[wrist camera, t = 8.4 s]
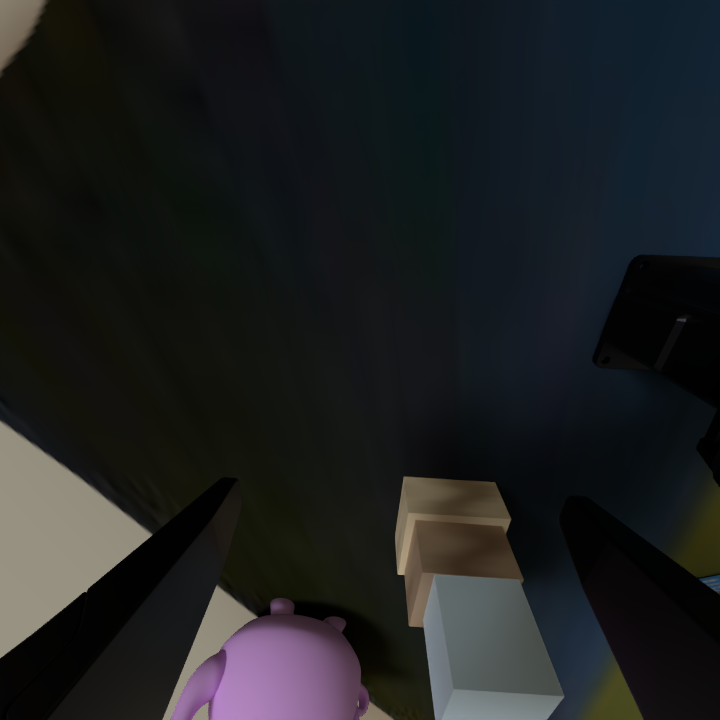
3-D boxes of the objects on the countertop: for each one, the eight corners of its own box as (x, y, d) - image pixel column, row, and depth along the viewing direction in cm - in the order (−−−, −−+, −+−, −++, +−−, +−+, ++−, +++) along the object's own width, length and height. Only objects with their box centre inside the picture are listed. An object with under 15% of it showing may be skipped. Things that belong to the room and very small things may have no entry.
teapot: (181, 625, 36) (93, 819, 24) (223, 558, 30) (134, 770, 19) (339, 674, 40) (326, 861, 28) (403, 623, 34) (418, 831, 23)
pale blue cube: (518, 579, 19) (564, 696, 15) (498, 624, 21) (532, 737, 17) (434, 574, 19) (453, 689, 15) (423, 619, 21) (436, 731, 17)
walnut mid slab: (502, 526, 22) (523, 579, 19) (482, 577, 25) (497, 632, 22) (415, 519, 22) (422, 572, 19) (404, 572, 25) (408, 625, 22)
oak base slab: (493, 479, 25) (511, 519, 22) (475, 537, 28) (488, 580, 25) (403, 473, 25) (408, 512, 22) (394, 532, 28) (397, 574, 25)
